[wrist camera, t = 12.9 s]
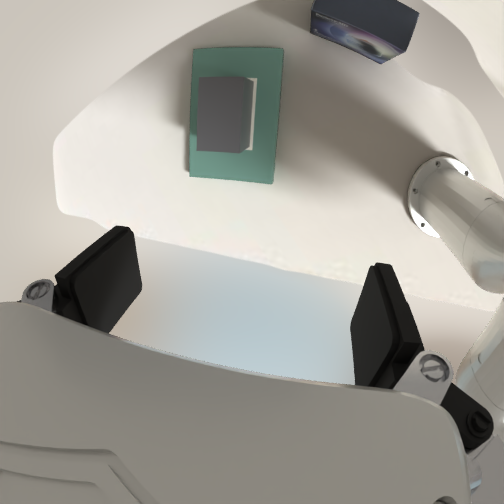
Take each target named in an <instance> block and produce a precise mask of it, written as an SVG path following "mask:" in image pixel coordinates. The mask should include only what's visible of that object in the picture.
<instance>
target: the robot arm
mask: <svg viewBox="0 0 504 504" xmlns="http://www.w3.org/2000/svg"><path fill="white" fill-rule="evenodd" d="M436 162H437V164H436ZM464 172H465V173H464ZM414 188H415V190H414V191H413V189H414ZM407 199H408V208H409V212H410V215H411V217H412V219H413V221H414V222H415V224H416V225H417V226H418V227H419V228H420V229H421V230H422V231H423V232H425V233H426V234H428V235H430V236H434V237H440V238H441V239H442V241H443V242H444V243H445V244H446V245H447V247H448V248H449V249H450V251H451V252H452V253H453V254H454V256H455V257H456V258H457V260H458V261H459V262H460V264H461V265H462V266H463V268H464V269H465V270H466V272H467V273H468V274H469V276H470V277H471V278H472V280H473V281H474V282H475V283H476V284H477V285H478V286H479V287H480V288H482V289H484V290H486V291H488V292H491V293H497V294H504V199H503V198H502V197H500V196H499V195H497V194H496V193H494V192H493V191H491V190H489V189H488V188H486V187H484V186H483V185H481V184H479V183H478V182H476V181H475V180H474V177H473V175H472V174H471V172H470V170H469V169H468V168H467V167H466V165H464V164H463V163H462V162H460V161H459V160H457V159H454V158H451V157H447V156H440V157H435V158H432V159H430V160H428V161H427V162H425V163H424V164H422V165H421V166H420V167H419V168H418V170H417V171H416V173H415V174H414V176H413V178H412V180H411V182H410V186H409V189H408V198H407ZM55 278H56V281H57V285H56V286H54V283H53V282H52V281H51V280H48V279H42V280H38V281H35V282H33V283H31V284H30V285H29V286H27V288H26V289H25V290H24V292H23V295H22V300H20V301H17V302H2V303H0V504H504V298H503V300H502V301H501V303H500V305H499V307H498V308H497V310H496V313H495V314H494V316H493V317H492V319H491V320H490V322H489V323H488V325H487V326H486V328H485V329H484V331H483V332H482V333H481V335H480V336H479V338H478V339H477V340H476V342H475V343H474V344H473V346H472V347H471V349H470V350H469V351H468V353H467V354H466V356H465V357H464V358H463V360H462V362H461V363H460V366H459V368H458V370H457V374H456V380H455V385H454V384H453V383H452V382H451V381H452V379H453V375H454V373H453V367H452V365H451V363H450V362H449V361H448V359H447V358H446V357H445V356H443V355H442V354H440V353H438V352H436V351H432V350H426V351H425V350H424V347H423V343H422V341H421V337H420V334H419V332H418V329H417V326H416V323H415V320H414V318H413V315H412V312H411V310H410V307H409V304H408V303H407V302H406V299H405V297H404V294H403V292H402V289H401V287H400V284H399V282H398V279H397V277H396V275H395V272H394V270H393V268H392V266H391V265H390V264H384V263H376V264H375V266H370V268H369V271H368V274H367V277H366V280H365V283H364V286H363V290H362V293H361V295H360V298H359V301H358V304H357V307H356V309H355V312H354V315H353V318H352V321H351V326H350V330H351V340H352V350H353V361H354V374H355V385H347V384H337V383H328V382H318V381H311V380H304V379H296V378H289V377H282V376H276V375H270V374H263V373H258V372H252V371H247V370H242V369H237V368H232V367H227V366H222V365H218V364H213V363H209V362H205V361H200V360H196V359H192V358H188V357H184V356H181V355H177V354H173V353H169V352H166V351H162V350H158V349H155V348H152V347H148V346H145V345H142V344H139V343H135V342H132V341H129V340H126V339H123V338H120V337H117V336H114V335H111V334H109V332H110V331H111V330H112V328H113V327H114V326H115V324H116V323H117V322H118V320H119V319H120V318H121V317H122V315H123V314H124V313H125V311H126V310H127V309H128V307H129V306H130V305H131V303H132V302H133V301H134V300H135V299H136V297H137V296H138V295H139V293H140V292H141V290H142V281H141V276H140V270H139V265H138V258H137V252H136V246H135V238H134V233H133V232H132V231H131V229H130V228H129V227H125V226H115V227H114V228H112V229H111V230H110V231H108V232H107V233H106V234H104V235H103V236H102V237H101V238H99V239H98V240H97V241H96V242H94V243H93V244H92V245H90V246H89V247H88V248H87V249H85V250H84V251H83V252H82V253H81V254H79V255H78V256H77V257H76V258H74V259H73V260H72V261H71V262H70V263H69V264H67V265H66V266H65V267H64V268H63V269H62V270H60V271H59V272H58V273H57V274H56V275H55Z"/></svg>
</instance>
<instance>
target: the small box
mask: <svg viewBox="0 0 504 504" xmlns="http://www.w3.org/2000/svg"><path fill="white" fill-rule="evenodd" d="M418 17H419V13H418V12H417V11H415V10H413V9H412V8H410V7H408V6H406V5H404V4H403V3H401V2H399V1H397V0H315V1H314V3H313V5H312V8H311V28H310V33H312V34H314V35H317V36H320V37H322V38H325V39H327V40H330V41H332V42H335V43H337V44H339V45H342V46H344V47H346V48H349V49H351V50H353V51H355V52H357V53H359V54H361V55H364V56H366V57H368V58H369V59H372V60H374V61H375V62H377V63H379V64H382V63H384V62H386V61H388V60H390V59H391V58H394V57H396V56H397V55H400V54H402V53H404V52H406V50H407V47H408V45H409V42H410V40H411V37H412V34H413V31H414V29H415V26H416V23H417V20H418Z"/></svg>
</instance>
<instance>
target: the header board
mask: <svg viewBox="0 0 504 504" xmlns="http://www.w3.org/2000/svg"><path fill="white" fill-rule="evenodd" d="M283 53H284V50H283V49H281V48H261V47H223V48H204V49H194V51H193V65H192V82H191V105H190V153H189V173H190V177H202V178H214V179H226V180H236V181H246V182H256V183H264V184H272V183H273V178H274V167H275V155H276V144H277V132H278V120H279V107H280V94H281V81H282V67H283ZM199 77H246V78H248V79H250V80H252V81H254V89H253V104H252V119H251V134H250V147H248V148H247V149H245V150H244V151H242V152H241V153H226V152H209V151H196V149H197V110H198V87H199Z"/></svg>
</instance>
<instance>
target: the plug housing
mask: <svg viewBox="0 0 504 504" xmlns="http://www.w3.org/2000/svg"><path fill="white" fill-rule="evenodd" d="M253 89H254V81H252V80H250V79H248V78H246V77H199V87H198V110H197V149H196V151H209V152H226V153H241V152H242V151H244V150H245V149H247V148H248V147H250V134H251V119H252V104H253Z"/></svg>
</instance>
